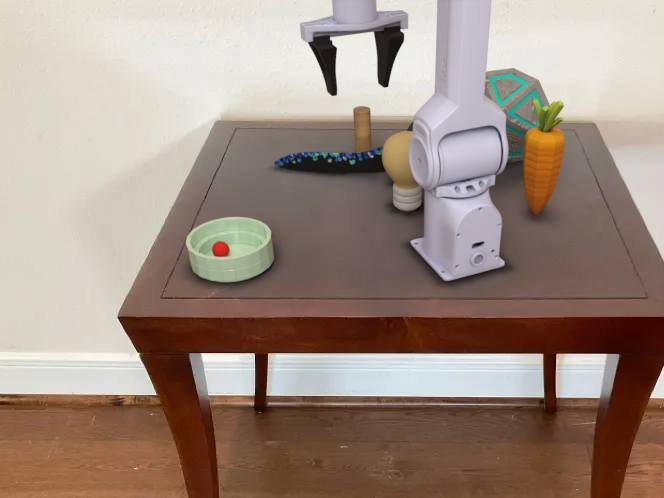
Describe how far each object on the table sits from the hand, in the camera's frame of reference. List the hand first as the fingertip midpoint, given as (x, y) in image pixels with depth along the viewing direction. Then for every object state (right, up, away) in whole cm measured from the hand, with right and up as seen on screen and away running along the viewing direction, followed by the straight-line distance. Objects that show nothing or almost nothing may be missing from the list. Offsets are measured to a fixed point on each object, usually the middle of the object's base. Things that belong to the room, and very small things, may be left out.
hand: (358, 89), depth 101 cm
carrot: (+23, -19, -6) cm, 31 cm away
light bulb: (+7, -17, -4) cm, 19 cm away
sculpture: (+24, +2, +18) cm, 30 cm away
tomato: (-15, -25, -16) cm, 33 cm away
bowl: (-14, -26, -15) cm, 33 cm away
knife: (+3, -12, +3) cm, 12 cm away
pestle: (0, -9, +6) cm, 10 cm away
